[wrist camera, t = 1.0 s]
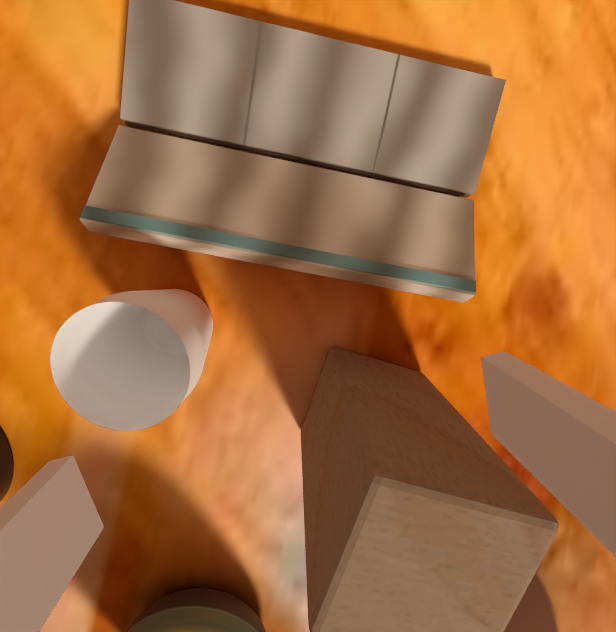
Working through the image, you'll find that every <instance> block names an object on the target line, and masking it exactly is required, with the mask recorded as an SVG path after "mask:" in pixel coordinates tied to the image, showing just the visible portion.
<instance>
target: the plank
mask: <svg viewBox="0 0 616 632" xmlns="http://www.w3.org/2000/svg"><path fill="white" fill-rule="evenodd" d="M80 221H81V223H82V224H83V225H84V226H85V228H86V229H87V230H88V231H89V232H92V233H97V234H102V235H108V236H113V237H118V238H124V239H129V240H134V241H140V242H145V243H150V244H156V245H161V246H166V247H172V248H177V249H182V250H187V251H193V252H198V253H203V254H209V255H214V256H219V257H225V258H230V259H235V260H241V261H246V262H251V263H257V264H262V265H267V266H273V267H278V268H283V269H289V270H294V271H299V272H305V273H310V274H315V275H321V276H326V277H331V278H337V279H342V280H347V281H352V282H358V283H363V284H368V285H374V286H379V287H384V288H390V289H395V290H400V291H406V292H411V293H416V294H422V295H427V296H432V297H438V298H443V299H448V300H454V301H459V302H466V301H467V300H469V299H470V298H472V297H473V296H475V293H476V281H475V261H474V200H470V199H465V198H461V197H456V196H451V195H447V194H442V193H437V192H432V191H428V190H423V189H418V188H413V187H409V186H404V185H399V184H395V183H390V182H385V181H380V180H376V179H371V178H366V177H361V176H357V175H352V174H347V173H343V172H338V171H333V170H328V169H324V168H319V167H314V166H309V165H305V164H300V163H295V162H291V161H286V160H281V159H276V158H272V157H267V156H262V155H257V154H253V153H248V152H243V151H239V150H234V149H229V148H224V147H220V146H215V145H210V144H206V143H201V142H196V141H191V140H187V139H182V138H177V137H172V136H168V135H163V134H158V133H154V132H149V131H144V130H139V129H135V128H130V127H125V126H120V125H118V128H117V130H116V133H115V135H114V138H113V140H112V142H111V145H110V147H109V150H108V152H107V155H106V157H105V159H104V162H103V164H102V167H101V169H100V172H99V174H98V176H97V179H96V181H95V184H94V186H93V189H92V191H91V193H90V196H89V198H88V201H87V203H86V205H84V208H83V210H82V213H81V215H80Z"/></svg>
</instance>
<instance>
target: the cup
mask: <svg viewBox="0 0 616 632" xmlns="http://www.w3.org/2000/svg"><path fill="white" fill-rule="evenodd" d="M212 331H213V320H212V315H211V313H210V310H209V309H208V307H207V305H206V304H205V303H204V302H203V301H202V300H201V299H200V298H199V297H198V296H196V295H195V294H193V293H191V292H188V291H185V290H181V289H163V290H140V291H126V292H121V293H116V294H113V295H110V296H108V297H105V298H103V299H101V300H100V301H98V302H96V303H94V304H92V305H90V306H88V307H86V308H83V309H81V310H80V311H78V312H76V313H75V314H73V315H72V316H71V317H70V318H69V319H68V320H67V321H66V322H65V323H64V324H63V325H62V326H61V328H60V329H59V331H58V333H57V334H56V336H55V339H54V341H53V345H52V349H51V357H50V364H51V372H52V376H53V380H54V382H55V385H56V387H57V389H58V391H59V393H60V394H61V396H62V397H63V399H64V400H65V401H66V403H67V404H68V405H69V406H70V407H71V408H72V409H73V410H74V411H75V412H77V413H78V414H79V415H80V416H82V417H83V418H85V419H87V420H88V421H90V422H92V423H94V424H97V425H99V426H102V427H105V428H109V429H114V430H123V431H132V430H140V429H145V428H148V427H151V426H153V425H156V424H158V423H160V422H162V421H163V420H165V419H166V418H168V417H169V416H170V415H171V414H172V413H173V412H174V411H175V410H176V409H177V408H178V407H179V405H180V404H181V403H182V402H183V401H184V399H185V398H186V397H187V396H188V395H189V394H190V393H191V391H192V390H193V389H194V387H195V386H196V384H197V382H198V380H199V378H200V376H201V373H202V370H203V366H204V363H205V359H206V355H207V351H208V347H209V343H210V339H211V335H212Z"/></svg>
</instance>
